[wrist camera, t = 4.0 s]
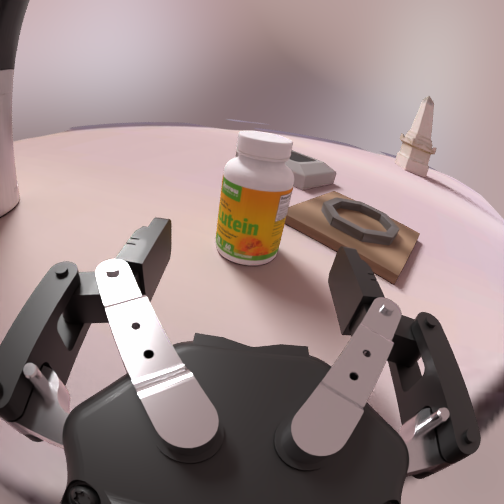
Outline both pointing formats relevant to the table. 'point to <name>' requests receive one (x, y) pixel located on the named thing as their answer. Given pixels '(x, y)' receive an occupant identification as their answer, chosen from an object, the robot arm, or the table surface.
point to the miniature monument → (418, 142)
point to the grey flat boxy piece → (308, 171)
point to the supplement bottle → (254, 198)
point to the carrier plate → (355, 231)
